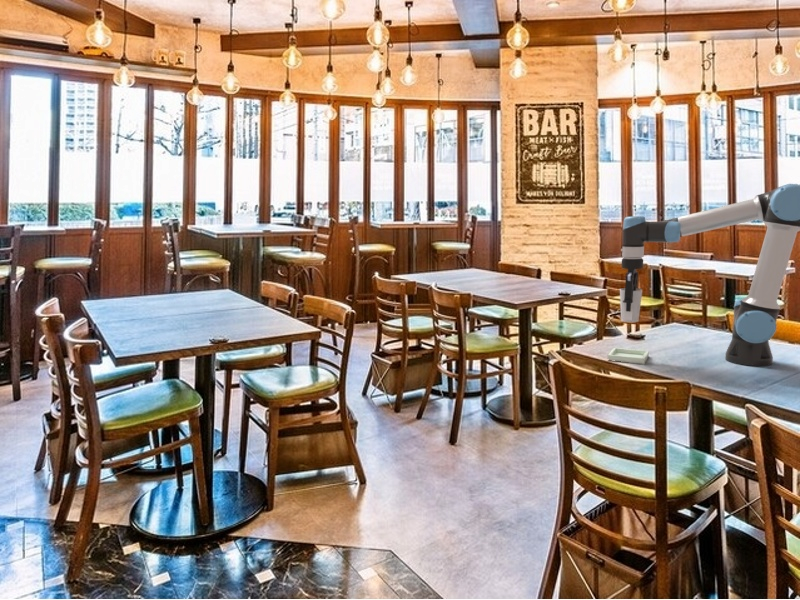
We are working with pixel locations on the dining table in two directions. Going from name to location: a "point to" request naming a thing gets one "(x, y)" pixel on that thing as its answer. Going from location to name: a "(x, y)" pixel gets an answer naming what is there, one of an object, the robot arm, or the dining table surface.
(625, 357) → the tray
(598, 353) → the dining table surface
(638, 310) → the cup
